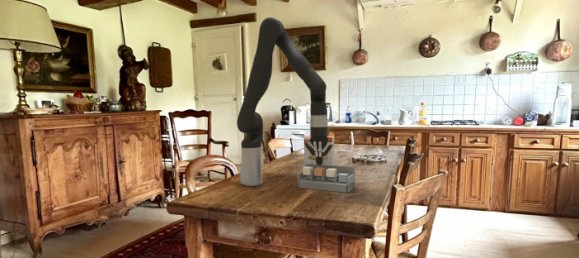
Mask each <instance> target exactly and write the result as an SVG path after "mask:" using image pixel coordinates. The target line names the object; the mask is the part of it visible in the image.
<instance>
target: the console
mask: <svg viewBox="0 0 579 258" xmlns="http://www.w3.org/2000/svg"><path fill="white" fill-rule="evenodd" d="M305 167H313V173H312V174H310V175H303V170H302V171H301V172H297V173H296V176H297V177H296V178H297V179H296V180H297V182H296V183H297V188H300V189H311V190H320V191H328V192H336V193H337V192H338V193H346V194H347V193H350V192H351V191H352V190H353V189H354V188H356V174H355V173H356V167H355V166H354V165H353V166H351V165H339V164H338V165H337V164H334V165H326V164H322V165H321V166H320V165H317V164H311V163H305ZM317 167H319V168H325V174H324V175H322V176H314V169H315V168H317ZM329 168H332V169H337V175H336V176H334V177H326V170H327V169H329ZM340 173H346V174H349V176H348V177H347V178H346V182H339V180H338V175H339V174H340Z"/></svg>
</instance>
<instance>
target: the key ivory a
mask: <svg viewBox="0 0 579 258" xmlns="http://www.w3.org/2000/svg"><path fill="white" fill-rule="evenodd" d="M302 171H303V175H310V174H312V173H313V167H302Z"/></svg>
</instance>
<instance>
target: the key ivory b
mask: <svg viewBox="0 0 579 258" xmlns="http://www.w3.org/2000/svg"><path fill="white" fill-rule="evenodd" d="M336 175H337V169H332V168H329V169H327V170H326V177H334V176H336Z"/></svg>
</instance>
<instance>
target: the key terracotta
mask: <svg viewBox="0 0 579 258" xmlns="http://www.w3.org/2000/svg"><path fill="white" fill-rule="evenodd" d="M324 174H325V168H319V167H317V168H315V169H314V176H322V175H324Z"/></svg>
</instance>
